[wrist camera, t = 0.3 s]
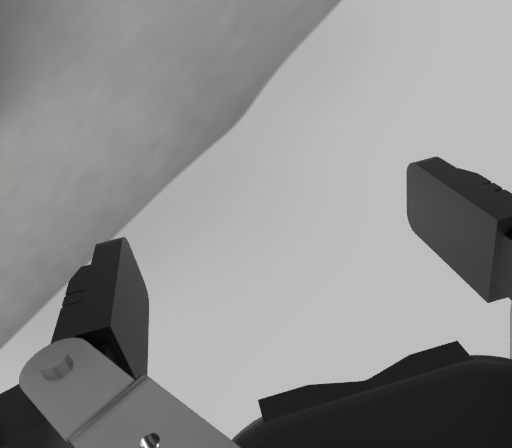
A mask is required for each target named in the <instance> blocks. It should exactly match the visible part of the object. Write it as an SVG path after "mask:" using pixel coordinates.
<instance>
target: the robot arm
mask: <svg viewBox="0 0 512 448" xmlns="http://www.w3.org/2000/svg"><path fill="white" fill-rule="evenodd" d="M407 216H408V221H409V223H410V226H411V228H412V230H413V231H414V232H415V233H416V234H417V235H418V236H419V237H420V238H421V239H422V240H423V241H424V242H425V243H426V244H427V245H428V246H429V247H430V248H431V249H432V250H433V251H434V252H435V253H436V254H438V255H439V256H440V257H441V258H442V259H443V260H444V261H445V262H446V263H447V264H448V265H449V266H450V267H451V268H452V269H453V270H454V271H455V272H456V273H457V274H458V275H459V276H461V278H462V279H463V280H465V282H467V283H468V284H469V285H470V286H471V287H472V288H473V289H474V290H475V291H476V292H477V293H478V294H479V295H480V296H481V297H482V298H483V299H484V300H485V301H486V302H487V303H489V302H493V301H496V300H500V299H503V298H507V297H509V298H510V299H511V300H512V193H510V192H508V191H506V190H502V188H501V187H500V186H498V185H496V184H495V183H491V181H489V180H488V179H486V178H484V177H483V176H481V175H479V174H477V173H474V172H470V171H466V170H463V169H459V168H458V169H457V168H455V167H454V166H452V165H451V164H449V163H447V162H446V161H444V160H443V159H441V158H439V157H433V158H429V159H425V160H421V161H418V162H413V163H410V164H409V166H408V168H407ZM65 295H66V297H64V301H63V304H62V307H63V308H61V311H60V314H59V318H58V321H57V324H56V327H55V331H54V334H53V337H52V341H51V344H50V345H48V346H46V347H45V348H43V349H41V350H40V351H39V352H38V353H36V354H35V355H34V356H33V357H32V358H31V359H30V360H29V361H28V362H27V363H26V365H25V366H24V368H23V369H22V371H21V373H20V377H19V384H18V385H16V386H15V387H13V388H11V389H9V390H7V391H5V392H3V393H1V394H0V448H512V303H511V309H510V359H508V358H503V357H496V356H482V355H469V354H468V353H467V352H466V351H465V349H464V348H463V347H462V346H461V345H460V344H459V342H458V341H455V342H452V343H448V344H445V345H441V346H438V347H435V348H432V349H428V350H425V351H421V352H418V353H415V354H412V355H409V356H407V357H405V358H404V359H402V360H400V361H399V362H397V363H395V364H394V365H392V366H390V367H389V368H387V369H385V370H383V371H382V372H380V373H379V374H377V375H375V376H373V377H372V378H370V379H368V380H365V381H359V382H346V383H330V384H317V385H307V386H303V387H300V388H297V389H293V390H290V391H287V392H283V393H280V394H277V395H273V396H270V397H267V398H263V399H260V400H258V401H259V405H260V410H261V413H262V417H261V418H259V419H257V420H255V421H254V422H252V423H251V424H249V426H247V427H245V428H244V429H243V430H242V431H241V432H240V433H239V434H237V435H236V436H235V437H234V438H233V439H232V440H230V439H229V438H228V437H226V436H225V435H224V434H222V433H221V432H220V431H219V430H217V429H216V428H215V427H213V426H212V425H211V424H209V423H208V422H207V421H206V420H204V419H203V418H202V417H200V416H199V415H197V414H196V413H195V412H194V411H193V410H191V409H190V408H188V407H187V406H186V405H185V404H183V403H182V402H181V401H180V400H178V399H177V398H175V397H174V396H173V395H172V394H170V393H169V392H168V391H166V390H165V389H164V388H163V387H161V386H160V385H158V384H157V383H156V382H155V381H153V380H152V379H151V378H149V377H148V376H147V362H148V324H149V298H148V293H147V289H146V286H145V283H144V280H143V278H142V275H141V273H140V270H139V268H138V265H137V263H136V260H135V258H134V255H133V253H132V250H131V248H130V245H129V243H128V241H127V239H126V238H125V237H122V238H118V239H114V240H111V241H107V242H103V243H99V244H96V246H95V250H94V254H93V258H92V262H91V265H87V266H83V267H80V269H79V270H78V271H77V272H76V273H75V275H74V276H73V277H72V278H71V279H70V281H69V284H68V287H67V291H66V294H65Z"/></svg>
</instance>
